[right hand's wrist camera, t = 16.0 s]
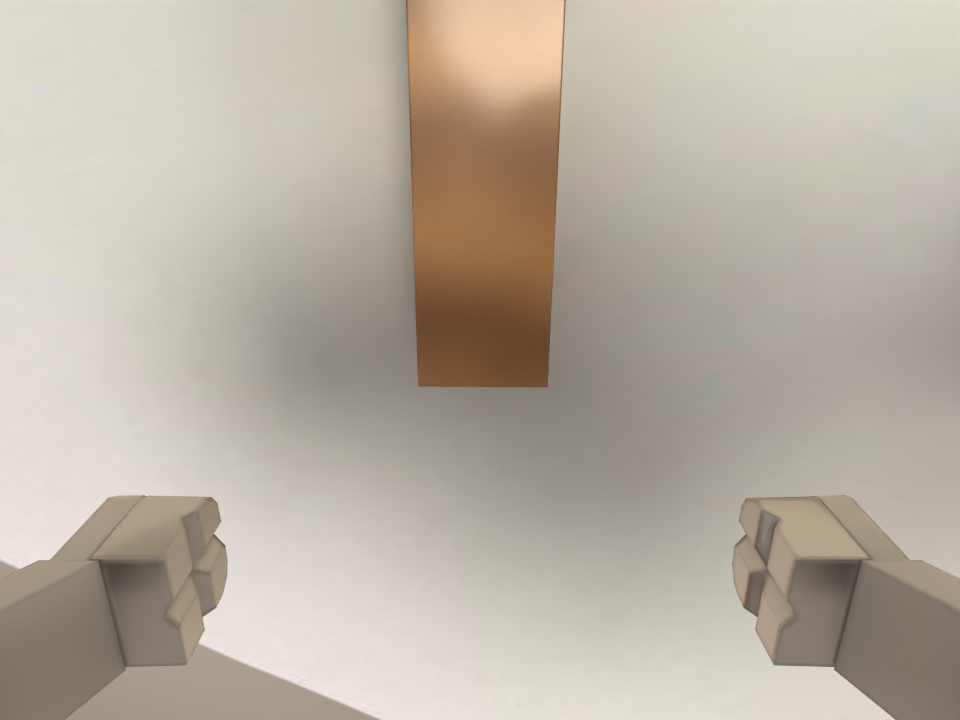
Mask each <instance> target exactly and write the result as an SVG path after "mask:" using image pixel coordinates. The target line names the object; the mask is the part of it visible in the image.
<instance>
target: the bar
mask: <svg viewBox="0 0 960 720" xmlns="http://www.w3.org/2000/svg"><path fill="white" fill-rule="evenodd" d="M565 3H566V0H406V12H407V44H408V77H409V109H410V141H411V173H412V206H413V238H414V270H415V302H416V335H417V367H418V386H443V387H547V386H548V367H549V346H550V325H551V303H552V282H553V260H554V239H555V218H556V196H557V175H558V153H559V132H560V110H561V89H562V68H563V46H564V25H565Z"/></svg>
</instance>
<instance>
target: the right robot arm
mask: <svg viewBox="0 0 960 720" xmlns="http://www.w3.org/2000/svg"><path fill="white" fill-rule="evenodd" d="M220 522H221V518H220V513H219V508H218V504H217V502H216V501H215V500H214V499H213V498H212V497H183V496H144V495H140V496H114V497H110V498H108V499H107V500H106V501H105V502H104V503H103V504H102V505H101V506H100V507H99V508H98V509H97V510H96V511H95V512H94V513H93V515H92V516H91V517H90V518H89V519H88V520H87V521H86V522H85V523H84V524H83V525H82V526H81V527H80V528H79V530H78V531H77V532H76V533H75V534H74V535H73V536H72V537H71V538H70V539H69V540H68V541H67V542H66V543H65V545H64V546H63V547H62V548H61V549H60V550H59V551H58V552H57V553H56V554H55V555H54V556H53V557H52V558H51V559H50V560H39V561H37V562H34V563H32V564H30V565H28V566H26V567H24V568H22V569H20V570H18V571H16V572H13V573H11V574H9V575H7V576H5V577H3V578H1V579H0V720H65V719H66V718H67V717H68V716H70V715H71V714H72V713H73V712H75V711H76V710H77V709H78V708H79V707H81V706H82V705H83V704H84V703H86V702H87V701H88V700H89V699H91V698H92V697H93V696H94V695H95V694H97V693H98V692H99V691H100V690H102V689H103V688H104V687H105V686H106V685H108V684H109V683H110V682H112V681H113V680H114V679H115V678H116V677H118V676H119V675H120V674H121V673H123V672H124V671H125V667H139V666H174V665H187V663H188V661H189V659H190V657H191V655H192V653H193V651H194V649H195V647H196V646H197V644H198V642H199V640H200V638H201V636H202V634H203V632H204V630H205V629H204V624H203V618H202V617H203V616H205V615H206V614H208V613H209V612H211V611H212V610H214V609H215V608H216V607H217V605H218V603H219V601H220V599H221V597H222V595H223V591H224V587H225V582H226V578H227V554H226V547H225V545H224V544H223V543H222V542H221V541H220V540H219V539H218V538H217V537H216V536H215V535H214V532H215V531H216V529H217V527H218V526H219V524H220ZM739 522H740V524H741V526H742V527H743V529H744V531H745V532H746V535H745V536H744V537H743V538H742V539H741V540H740V541H739V542H738V543H737V544H736V545H735V548H734V555H733V563H732V566H733V577H734V584H735V587H736V591H737V594H738V597H739V599H740V601H741V603H742V605H743V607H744V608H745V609H746V610H748V611H749V612H751V613H752V614H754V615H755V616H757V617H758V618H757V624H756V629H755V630H756V632H757V634H758V636H759V638H760V640H761V642H762V644H763V646H764V647H765V649H766V651H767V653H768V655H769V657H770V659H771V661H772V663H773V665H784V666H820V667H835V669H834V670H835V671H837V672H838V673H839V674H840V675H841V676H843V677H844V678H845V679H846V680H848V681H849V682H850V683H851V684H852V685H854V686H855V687H856V688H857V689H859V690H860V691H861V692H862V693H864V694H865V695H866V696H867V697H868V698H870V699H871V700H872V701H873V702H875V703H876V704H877V705H878V706H879V707H881V708H882V709H883V710H884V711H886V712H887V713H888V714H889V715H891V716H892V717H893V718H894V719H895V720H960V579H959V578H957V577H955V576H953V575H951V574H949V573H947V572H944V571H942V570H940V569H938V568H936V567H934V566H932V565H930V564H928V563H926V562H923V561H921V560H910V559H909V558H908V557H907V556H906V555H905V554H904V553H903V552H902V551H901V550H900V549H899V548H898V547H897V546H896V544H895V543H894V542H893V541H892V540H891V539H890V538H889V537H888V536H887V535H886V534H885V533H884V532H883V531H882V529H881V528H880V527H879V526H878V525H877V524H876V523H875V522H874V521H873V520H872V519H871V518H870V517H869V516H868V514H867V513H866V512H865V511H864V510H863V509H862V508H861V507H860V506H859V505H858V504H857V503H856V502H855V501H854V499H852V498H850V497H848V496H845V495H834V496H812V497H774V498H746V499H745V501H744V503H743V505H742V507H741V512H740V518H739Z"/></svg>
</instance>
